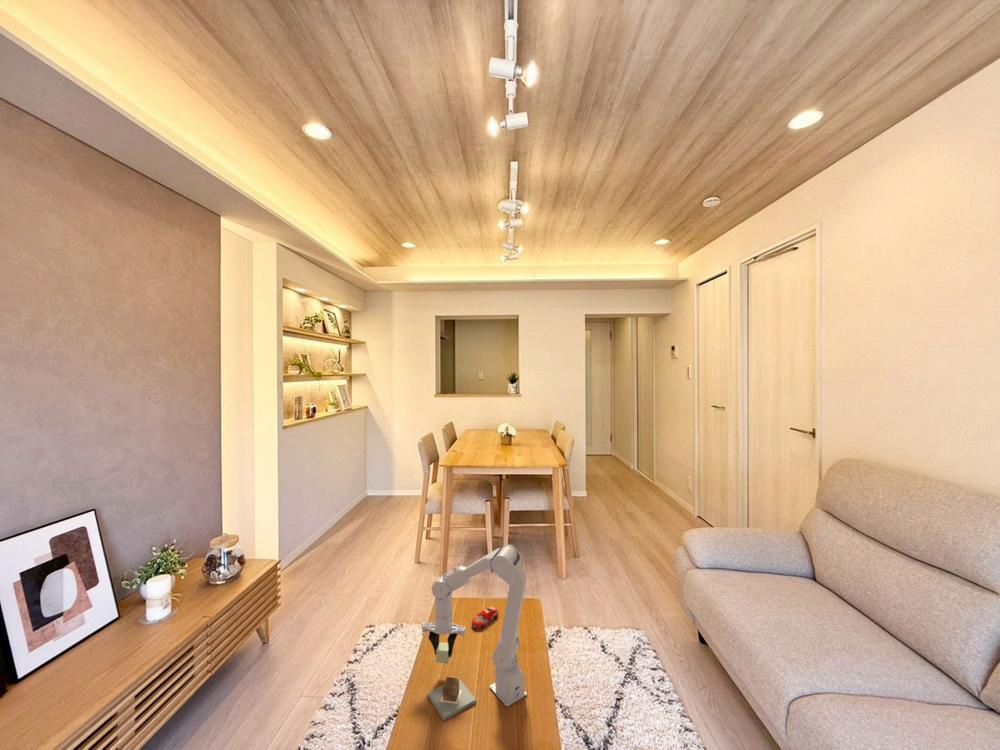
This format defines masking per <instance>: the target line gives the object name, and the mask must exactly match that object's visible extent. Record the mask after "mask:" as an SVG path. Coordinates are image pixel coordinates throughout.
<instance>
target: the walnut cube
mask: <svg viewBox="0 0 1000 750" xmlns="http://www.w3.org/2000/svg"><path fill="white" fill-rule="evenodd" d="M459 679H460V677H459V678H458V677H450V676H446V678H445V680H444V683H443V684H442V685H443V700H447V701H454V702H456V699H457V696H458V694H459Z"/></svg>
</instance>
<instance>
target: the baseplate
mask: <svg viewBox="0 0 1000 750" xmlns="http://www.w3.org/2000/svg"><path fill="white" fill-rule="evenodd" d="M457 678H459V694H458V696H457V699H456V702H454V701H447V700H443V685H444V684H442V685H439V687H436V688H434V689H432V690H430V691H428V692H427V694H426V695H427V698H428V699H429V701H430V702H431V704H432V705H433V707H434V709H435V710H436V712H437V713H438V714H439V716H440V717H441V719H442V721H446V720H448V719H449V718H452V717H453V716H455V715H457V714H458V713H460V712H463V711H464V710H465V709H467V708H469V707H470V706H473V705H474V704H476V703H477V699H476V698H475V696H474V695H473V693H472V692H471V691H470V690H469V689H468V687H467V686H466V685H465V683H464V682H463V681H462V680H461V679H460V677H457Z"/></svg>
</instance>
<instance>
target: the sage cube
mask: <svg viewBox="0 0 1000 750" xmlns="http://www.w3.org/2000/svg"><path fill="white" fill-rule="evenodd" d="M448 650H449V648H448V642H441V641H439V645H438V647H437V649H436V655H435V656H436V657H435V659H436V661H435V663H438V664H440V663H441V664H449V662H450V659H451V657H449V655H448Z"/></svg>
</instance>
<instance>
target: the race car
mask: <svg viewBox="0 0 1000 750" xmlns="http://www.w3.org/2000/svg"><path fill="white" fill-rule="evenodd" d="M476 615H477V616H475V617H474V618H472V620H471V627H472V628H473V629H476V630H483V629H484V628H485V627H486V626H488V625H490V623H492V622H494V621H495V620H496V619H497V618H498V617H499V611H498V608H495V607H493V606H490V607H486V608H484V609H483V610H481V611H480V612H479V613H477V614H476Z"/></svg>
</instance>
